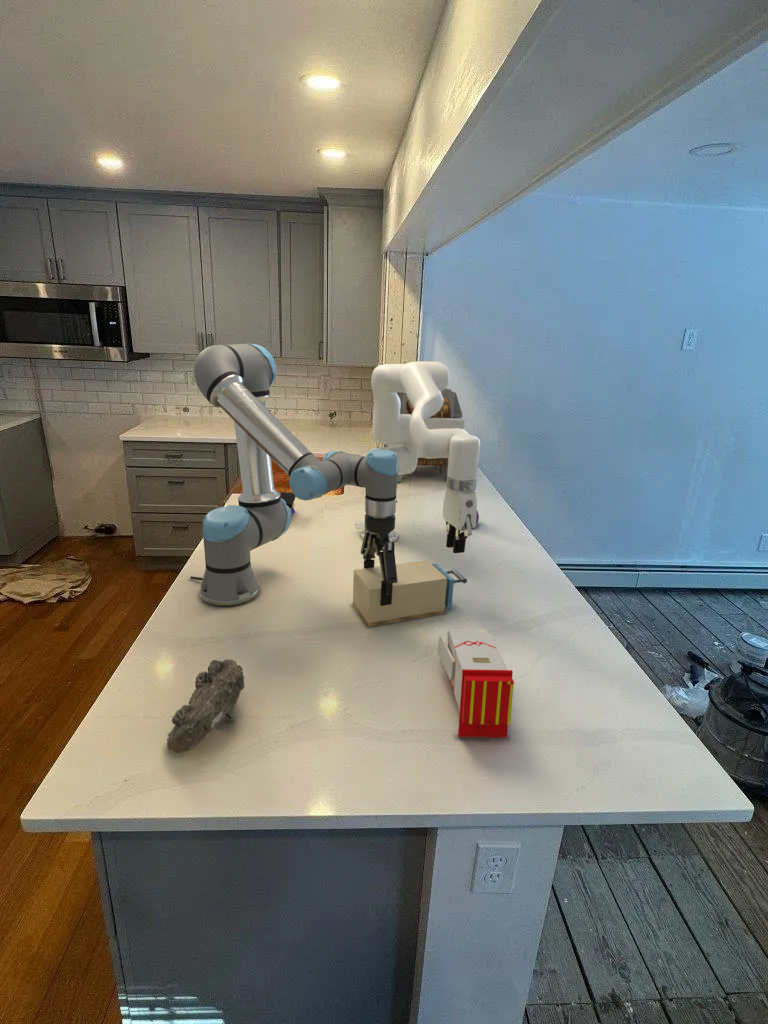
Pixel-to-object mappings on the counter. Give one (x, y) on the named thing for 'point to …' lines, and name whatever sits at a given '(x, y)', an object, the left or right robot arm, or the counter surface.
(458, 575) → the drawer
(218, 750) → the counter surface
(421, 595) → the tan storage bin
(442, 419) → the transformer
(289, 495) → the figurine character
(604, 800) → the counter surface
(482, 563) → the counter surface
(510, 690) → the toy
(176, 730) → the fossil
